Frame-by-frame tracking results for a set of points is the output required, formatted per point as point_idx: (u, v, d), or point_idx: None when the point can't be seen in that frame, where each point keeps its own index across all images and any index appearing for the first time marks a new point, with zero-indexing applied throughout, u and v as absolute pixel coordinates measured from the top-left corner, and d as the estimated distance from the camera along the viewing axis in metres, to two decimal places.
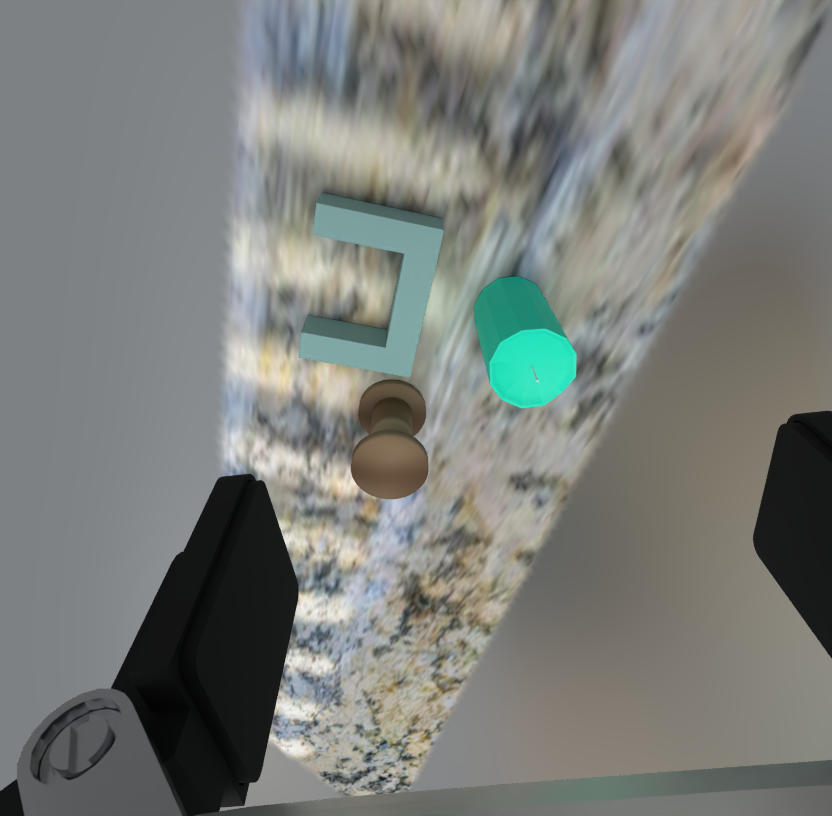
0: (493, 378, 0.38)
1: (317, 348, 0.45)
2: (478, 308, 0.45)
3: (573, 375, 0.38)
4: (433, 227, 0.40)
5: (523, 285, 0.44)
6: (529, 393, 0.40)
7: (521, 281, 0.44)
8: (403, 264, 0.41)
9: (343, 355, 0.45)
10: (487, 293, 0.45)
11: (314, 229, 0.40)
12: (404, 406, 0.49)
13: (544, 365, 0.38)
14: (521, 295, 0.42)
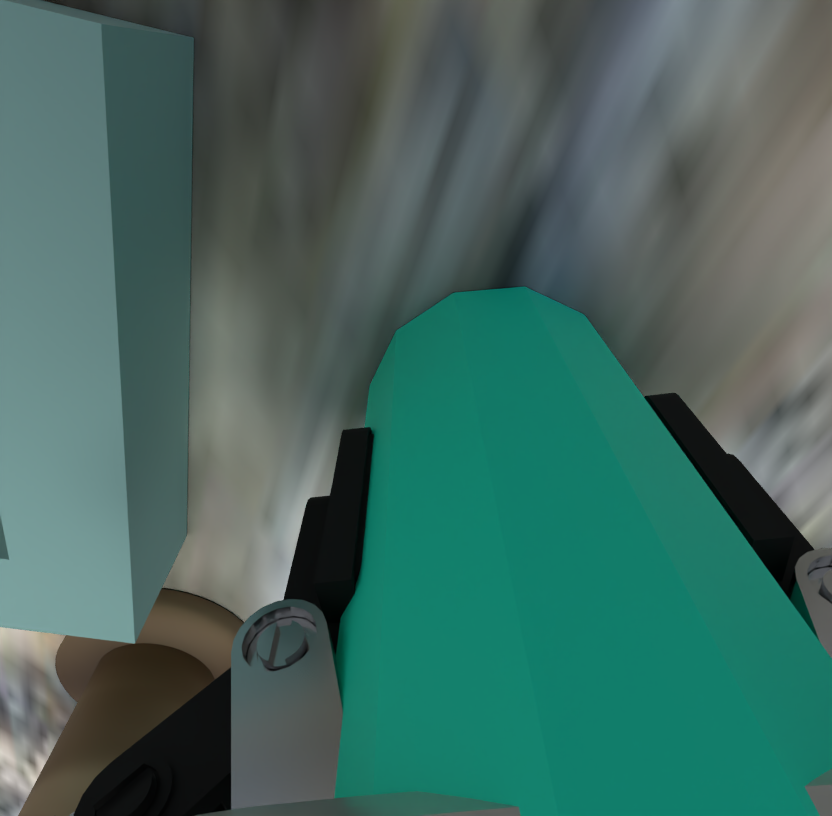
0: None
1: None
2: (371, 408, 0.12)
3: None
4: None
5: (543, 325, 0.11)
6: None
7: (534, 307, 0.11)
8: None
9: None
10: (403, 352, 0.12)
11: None
12: (172, 680, 0.16)
13: None
14: (538, 378, 0.09)
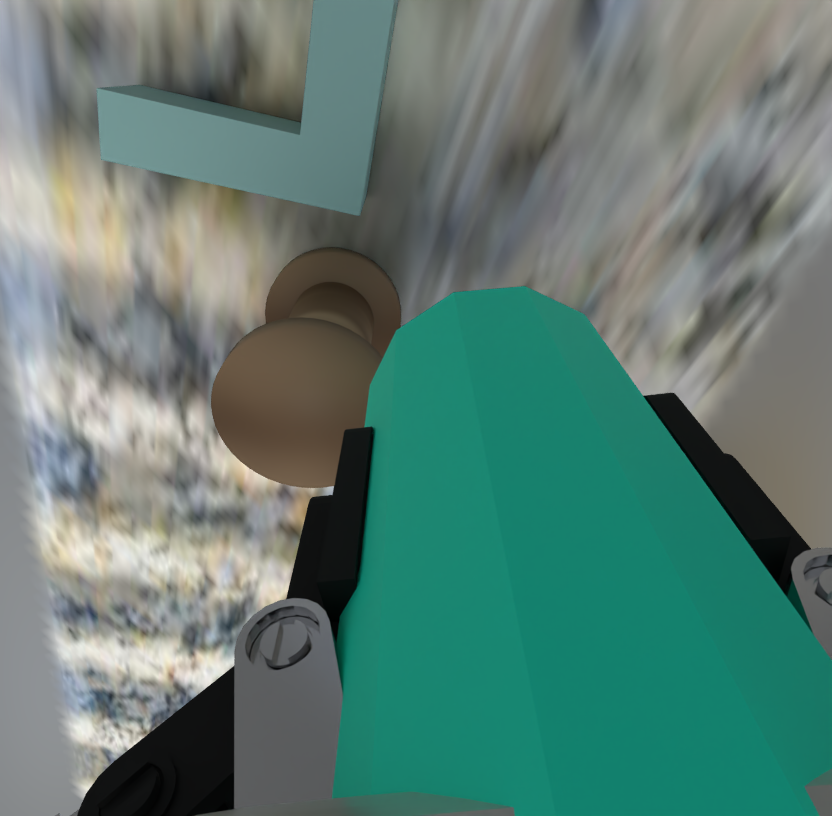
0: None
1: (141, 134, 0.19)
2: (372, 407, 0.12)
3: None
4: None
5: (543, 324, 0.11)
6: None
7: (534, 307, 0.11)
8: None
9: (203, 156, 0.20)
10: (403, 351, 0.12)
11: None
12: (354, 298, 0.24)
13: None
14: (538, 378, 0.09)
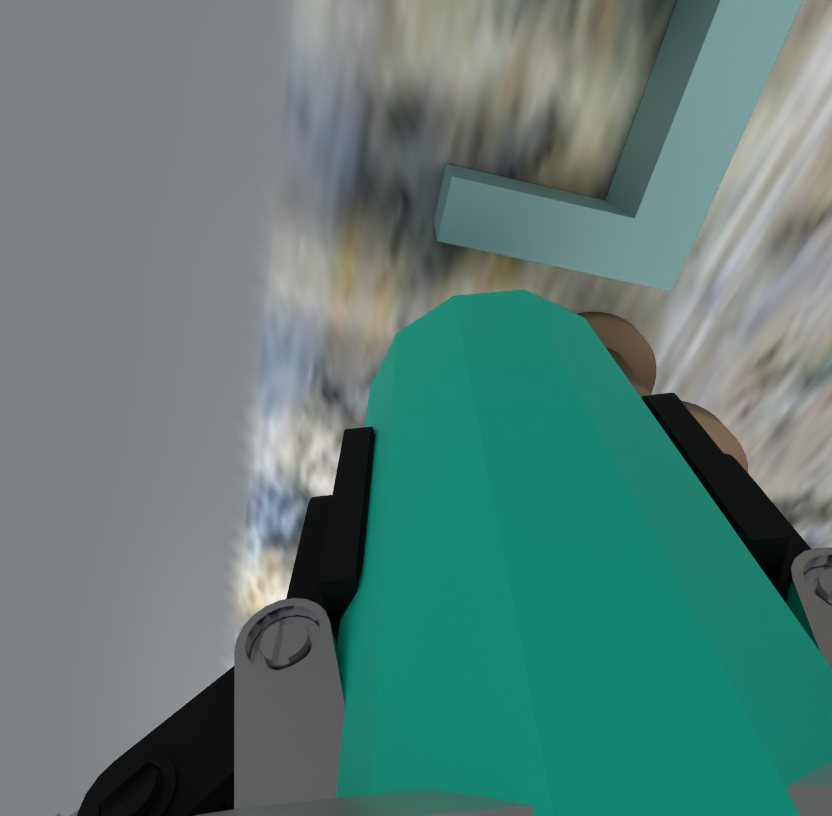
0: None
1: (483, 218, 0.20)
2: (371, 410, 0.12)
3: None
4: None
5: (543, 329, 0.11)
6: None
7: (534, 311, 0.11)
8: None
9: (536, 237, 0.20)
10: (403, 355, 0.12)
11: None
12: (626, 363, 0.24)
13: None
14: (538, 383, 0.09)
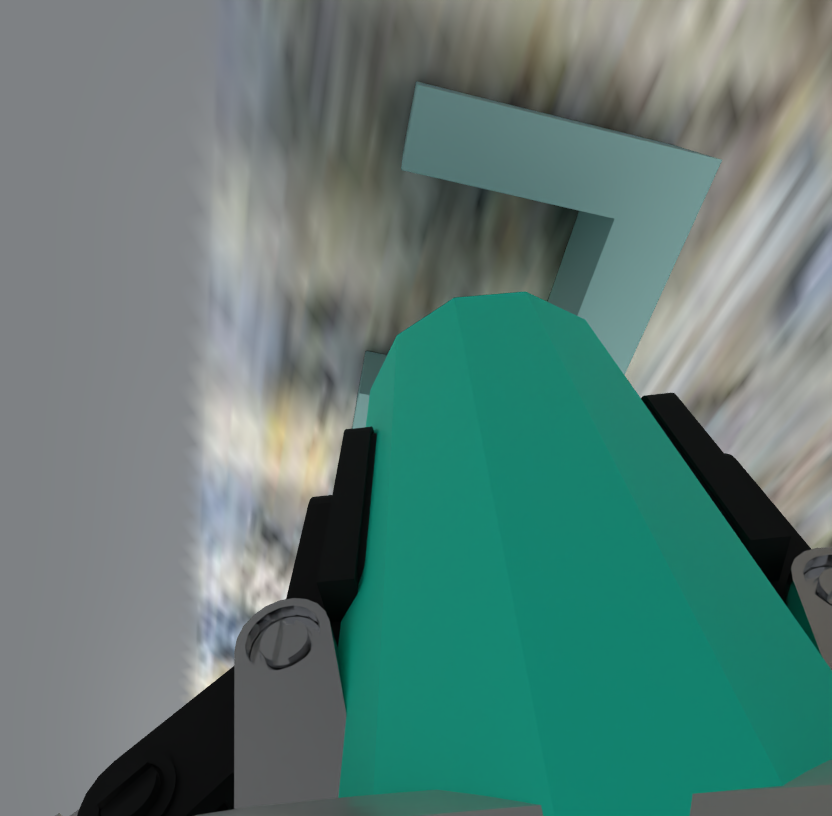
0: None
1: None
2: (372, 412, 0.12)
3: None
4: None
5: (544, 331, 0.11)
6: None
7: (535, 312, 0.11)
8: (607, 244, 0.18)
9: None
10: (403, 357, 0.12)
11: (406, 156, 0.16)
12: None
13: None
14: (538, 386, 0.09)
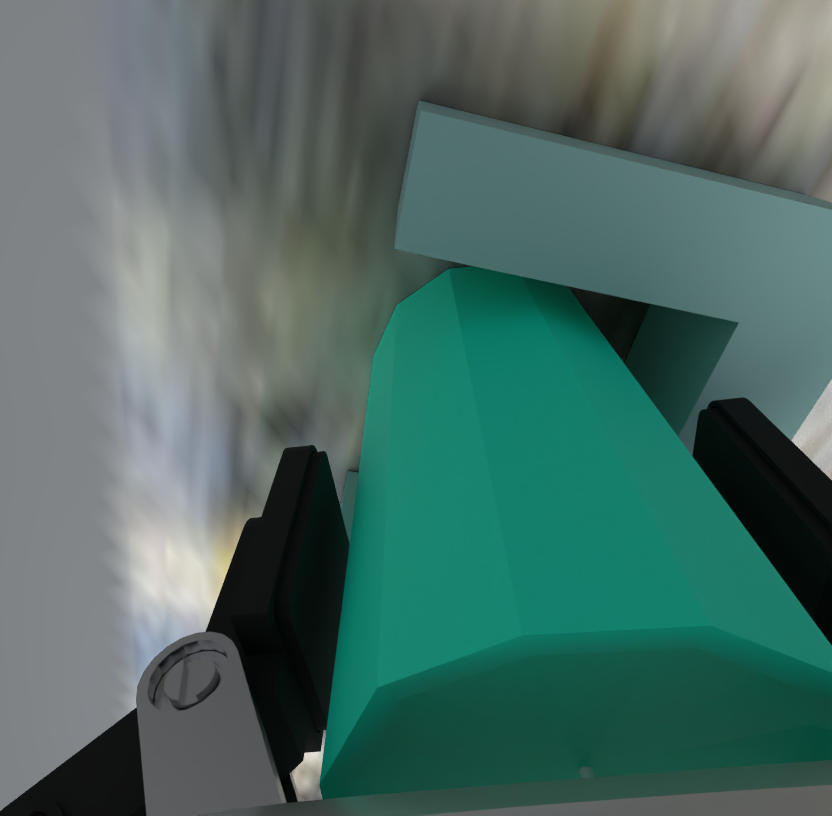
0: None
1: None
2: (374, 373, 0.13)
3: None
4: None
5: (528, 293, 0.12)
6: None
7: (521, 279, 0.13)
8: (722, 360, 0.11)
9: None
10: (403, 321, 0.13)
11: (403, 227, 0.10)
12: None
13: (657, 764, 0.07)
14: (521, 335, 0.10)
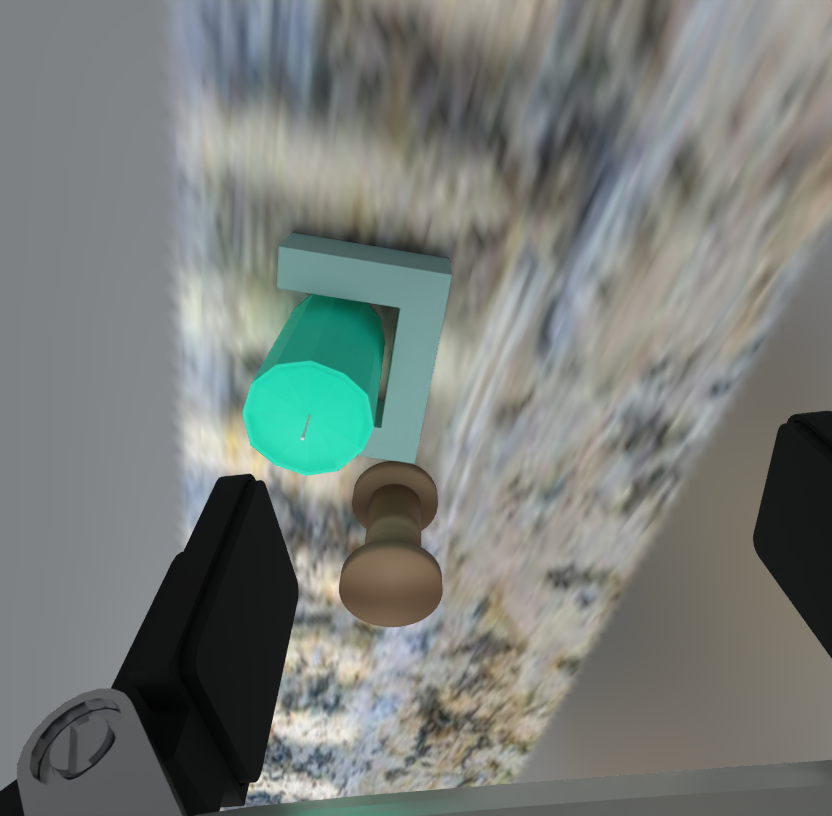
0: (253, 435, 0.26)
1: None
2: None
3: (370, 426, 0.26)
4: (437, 272, 0.30)
5: (334, 301, 0.32)
6: (316, 453, 0.27)
7: None
8: (399, 321, 0.31)
9: None
10: (292, 314, 0.33)
11: (278, 281, 0.30)
12: (409, 496, 0.39)
13: (326, 413, 0.26)
14: (319, 314, 0.30)
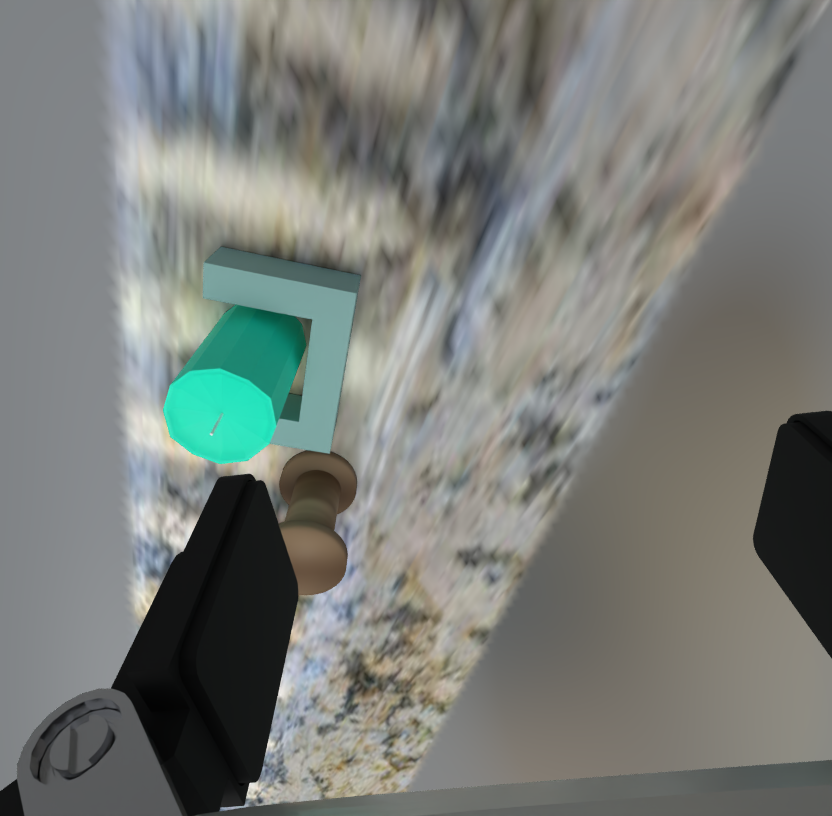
0: (172, 429, 0.31)
1: None
2: None
3: (273, 424, 0.31)
4: (344, 290, 0.34)
5: (256, 310, 0.36)
6: (229, 445, 0.32)
7: None
8: (312, 331, 0.35)
9: None
10: (221, 319, 0.37)
11: (204, 292, 0.34)
12: (329, 481, 0.43)
13: (236, 412, 0.31)
14: (240, 323, 0.34)
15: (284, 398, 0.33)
